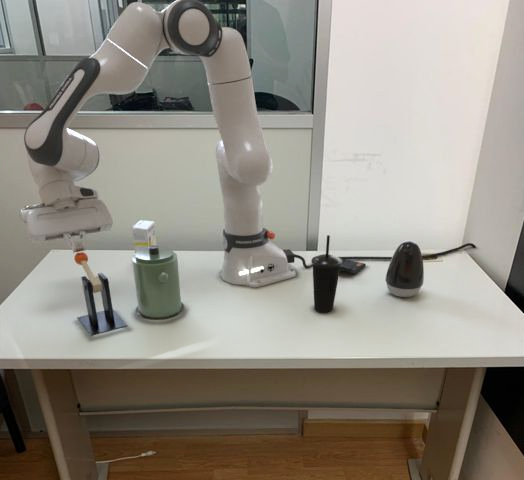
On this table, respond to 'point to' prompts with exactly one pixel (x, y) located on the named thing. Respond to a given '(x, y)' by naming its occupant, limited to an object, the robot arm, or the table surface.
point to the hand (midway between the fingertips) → (79, 250)
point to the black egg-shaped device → (405, 270)
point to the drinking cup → (325, 280)
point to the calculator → (351, 266)
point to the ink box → (144, 234)
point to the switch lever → (88, 271)
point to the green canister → (157, 283)
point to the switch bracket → (103, 319)
